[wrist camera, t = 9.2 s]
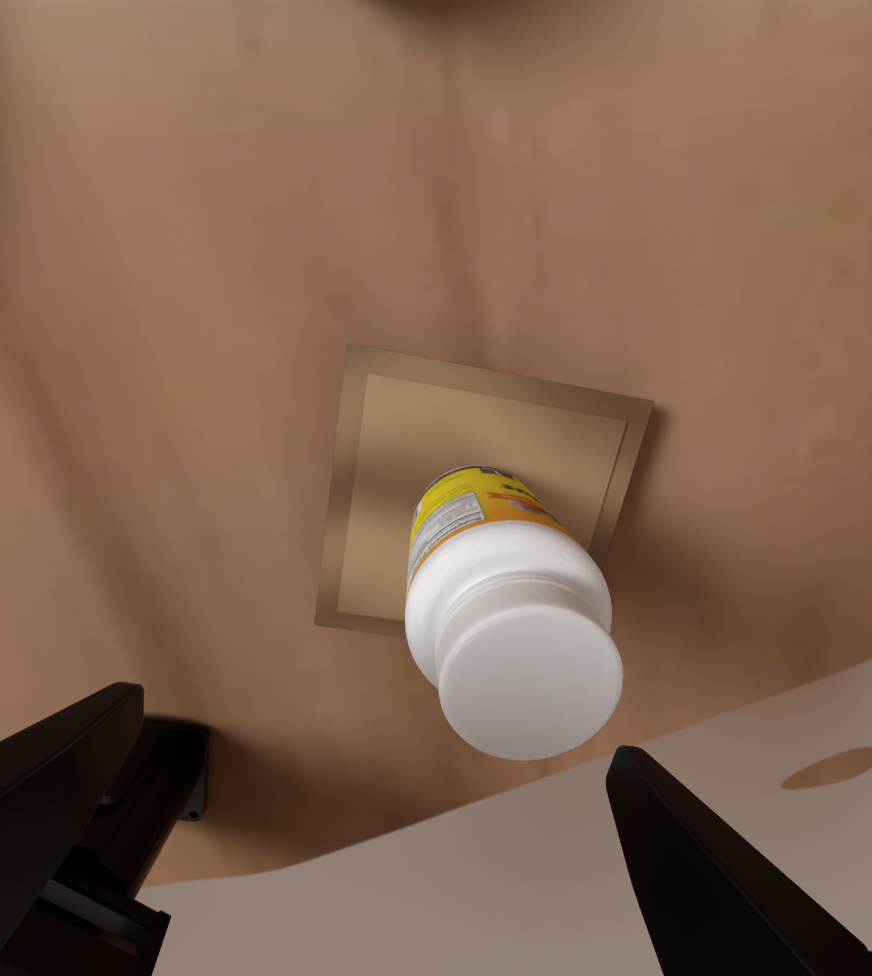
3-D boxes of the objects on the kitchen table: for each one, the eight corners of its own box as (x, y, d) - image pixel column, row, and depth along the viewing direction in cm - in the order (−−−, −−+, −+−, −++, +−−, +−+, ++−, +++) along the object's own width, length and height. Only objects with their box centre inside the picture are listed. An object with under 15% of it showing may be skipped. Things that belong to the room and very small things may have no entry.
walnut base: (563, 641, 22) (574, 662, 21) (321, 608, 21) (313, 627, 20) (636, 398, 19) (656, 401, 17) (352, 345, 18) (346, 342, 16)
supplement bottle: (557, 535, 19) (707, 715, 9) (456, 598, 20) (491, 829, 10) (493, 435, 17) (585, 516, 8) (386, 506, 18) (344, 665, 8)
